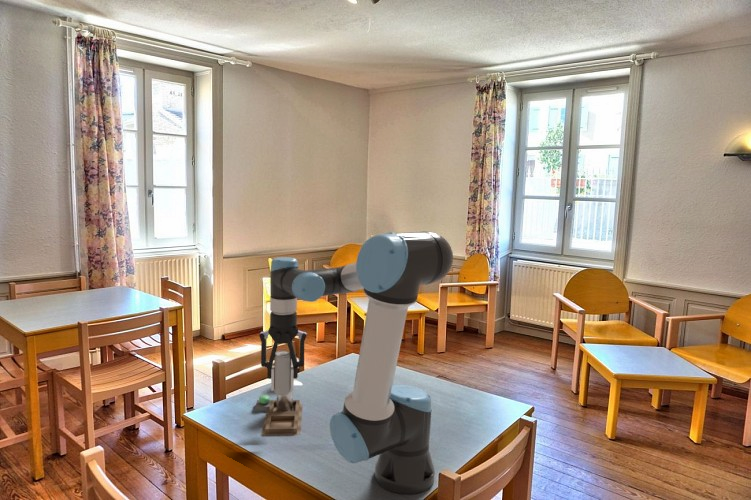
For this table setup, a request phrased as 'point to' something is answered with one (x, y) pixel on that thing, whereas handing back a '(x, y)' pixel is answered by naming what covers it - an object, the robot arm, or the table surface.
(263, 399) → the button
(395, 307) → the robot arm
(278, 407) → the billet
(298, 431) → the pallet
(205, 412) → the table surface
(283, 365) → the beverage can
